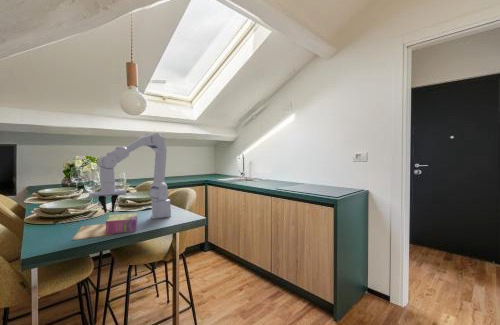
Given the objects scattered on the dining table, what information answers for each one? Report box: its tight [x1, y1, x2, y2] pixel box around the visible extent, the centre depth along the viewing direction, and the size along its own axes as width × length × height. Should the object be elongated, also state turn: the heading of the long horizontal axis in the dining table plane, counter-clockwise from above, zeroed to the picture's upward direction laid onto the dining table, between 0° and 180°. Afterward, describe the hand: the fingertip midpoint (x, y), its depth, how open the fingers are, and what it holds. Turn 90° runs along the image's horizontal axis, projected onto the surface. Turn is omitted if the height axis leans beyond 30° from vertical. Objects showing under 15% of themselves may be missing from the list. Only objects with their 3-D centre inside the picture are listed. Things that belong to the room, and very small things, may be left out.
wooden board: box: [71, 223, 113, 241], centre depth 110 cm, size 14×18×1 cm
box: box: [105, 212, 138, 234], centre depth 112 cm, size 10×6×12 cm
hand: (109, 212), depth 112 cm, fingers open, 2 cm apart
